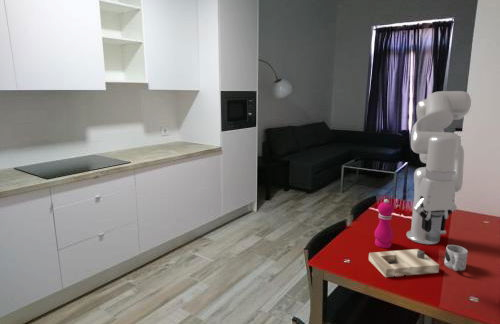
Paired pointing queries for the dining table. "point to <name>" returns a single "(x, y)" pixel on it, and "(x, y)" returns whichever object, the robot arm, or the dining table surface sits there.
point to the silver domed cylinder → (435, 226)
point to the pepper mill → (384, 225)
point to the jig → (403, 262)
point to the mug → (456, 257)
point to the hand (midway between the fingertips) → (432, 229)
